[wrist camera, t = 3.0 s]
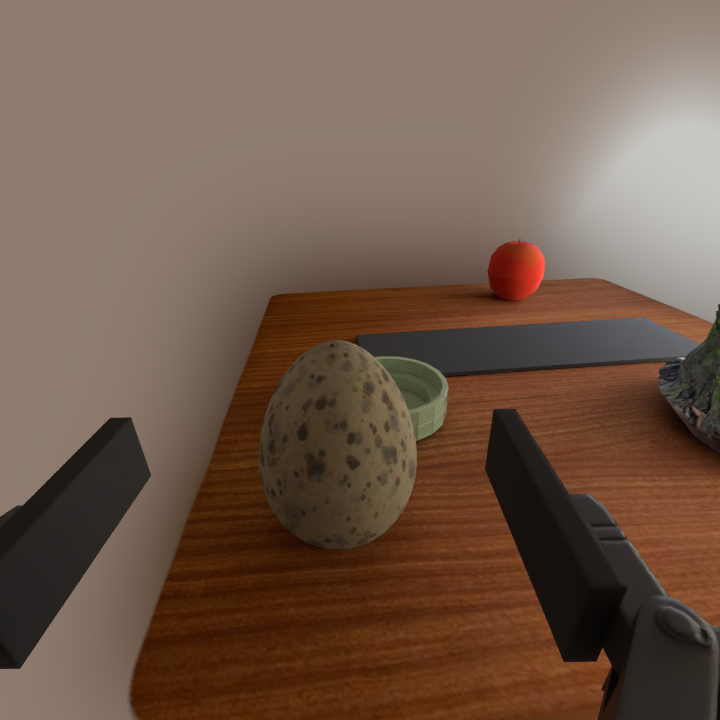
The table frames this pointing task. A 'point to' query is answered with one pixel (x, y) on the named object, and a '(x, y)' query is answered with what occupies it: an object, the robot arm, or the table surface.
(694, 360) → the tree stump
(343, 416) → the decorative egg
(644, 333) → the mat
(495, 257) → the apple
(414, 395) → the bowl
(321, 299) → the table surface
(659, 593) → the robot arm
